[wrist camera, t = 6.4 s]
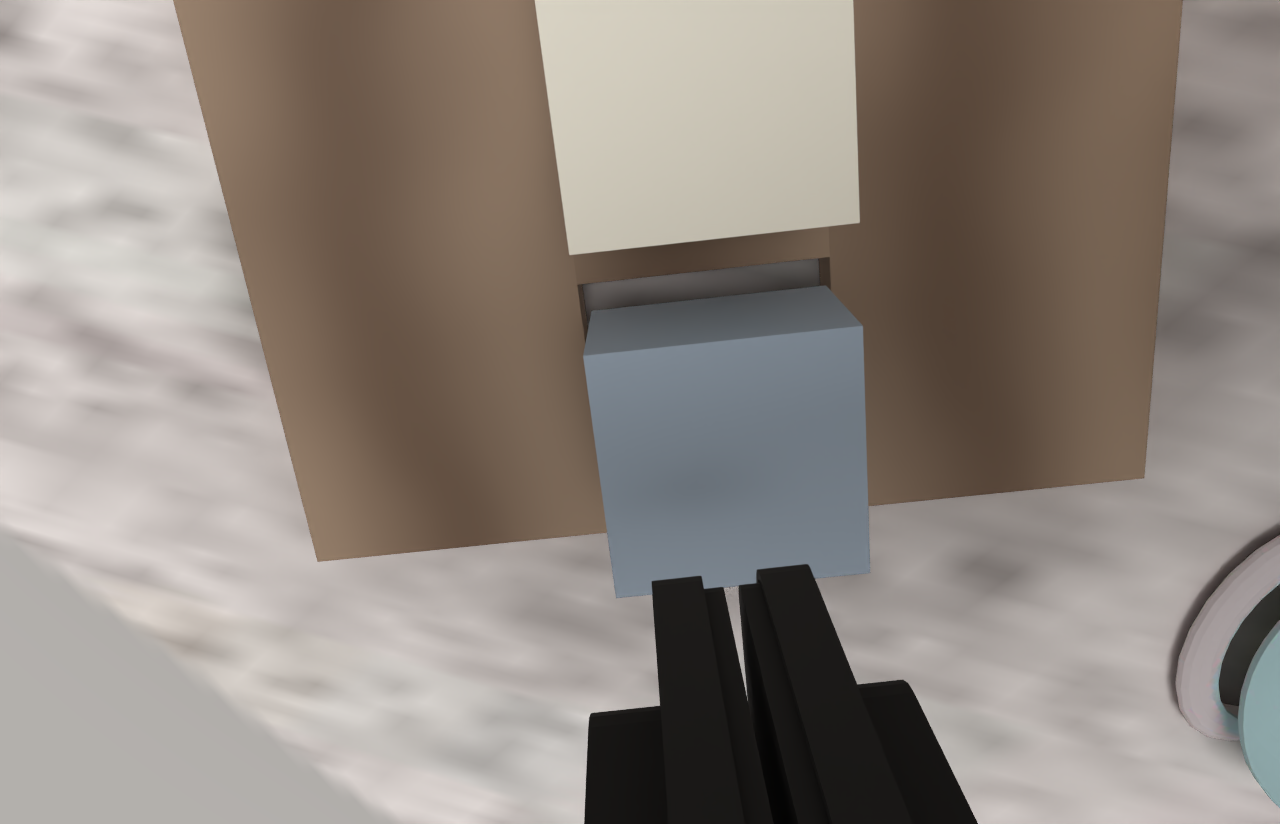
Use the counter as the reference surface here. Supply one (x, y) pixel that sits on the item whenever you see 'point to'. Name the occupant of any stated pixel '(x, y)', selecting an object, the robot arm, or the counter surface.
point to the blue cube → (730, 437)
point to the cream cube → (700, 118)
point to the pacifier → (1275, 681)
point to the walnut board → (681, 253)
